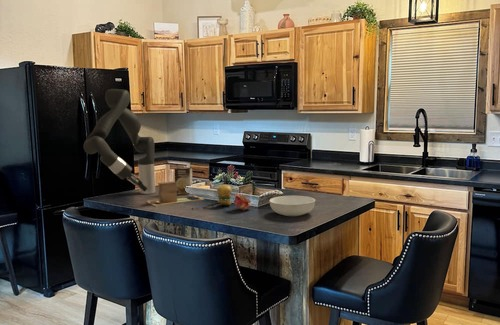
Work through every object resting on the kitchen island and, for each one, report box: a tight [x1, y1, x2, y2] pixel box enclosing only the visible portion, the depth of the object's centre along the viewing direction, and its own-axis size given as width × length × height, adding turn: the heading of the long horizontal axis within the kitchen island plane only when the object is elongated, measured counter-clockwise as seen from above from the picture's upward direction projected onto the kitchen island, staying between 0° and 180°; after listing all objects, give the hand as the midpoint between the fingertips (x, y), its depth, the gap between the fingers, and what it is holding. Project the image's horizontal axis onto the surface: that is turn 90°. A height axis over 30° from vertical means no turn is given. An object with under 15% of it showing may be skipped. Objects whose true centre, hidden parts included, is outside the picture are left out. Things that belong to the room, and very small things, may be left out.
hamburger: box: [216, 183, 233, 206], centre depth 228 cm, size 8×7×12 cm
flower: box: [232, 193, 253, 212], centre depth 219 cm, size 10×9×8 cm
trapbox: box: [145, 194, 206, 207], centre depth 236 cm, size 14×27×2 cm, turn 121°
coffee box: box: [174, 166, 193, 195], centre depth 257 cm, size 9×6×16 cm
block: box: [157, 180, 178, 204], centre depth 233 cm, size 5×8×10 cm, turn 121°
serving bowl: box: [269, 195, 316, 217], centre depth 208 cm, size 21×21×7 cm
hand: (145, 189), depth 227 cm, fingers closed
